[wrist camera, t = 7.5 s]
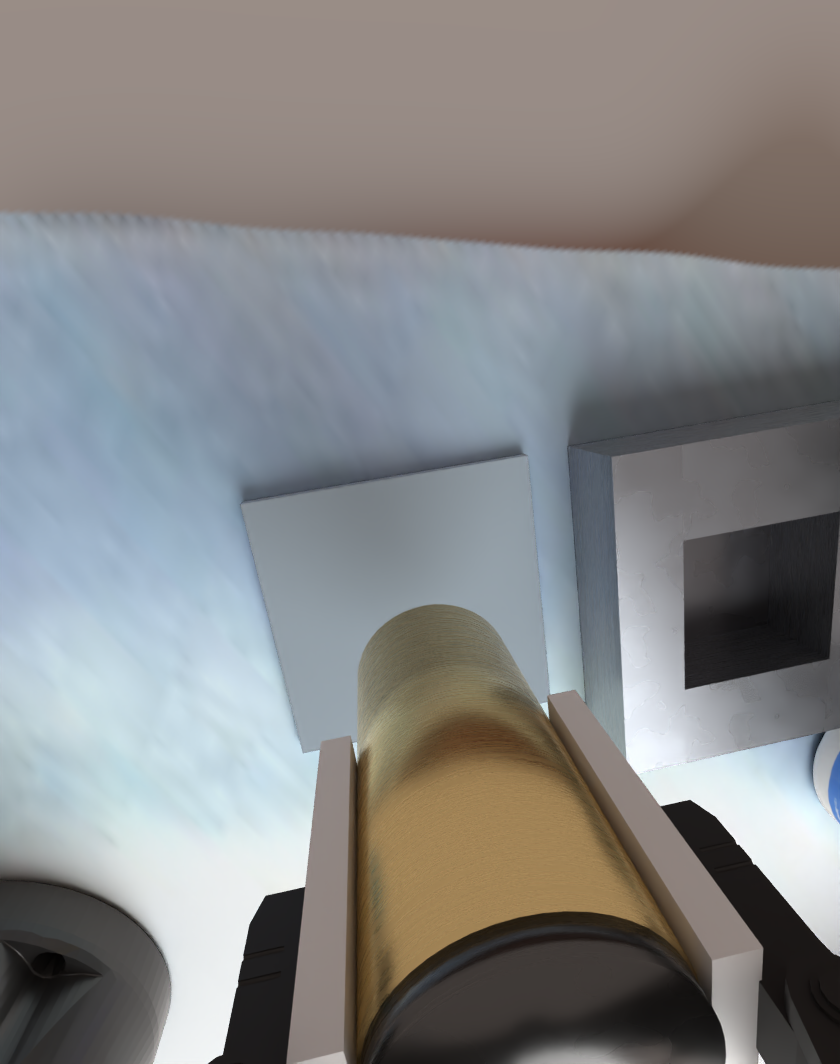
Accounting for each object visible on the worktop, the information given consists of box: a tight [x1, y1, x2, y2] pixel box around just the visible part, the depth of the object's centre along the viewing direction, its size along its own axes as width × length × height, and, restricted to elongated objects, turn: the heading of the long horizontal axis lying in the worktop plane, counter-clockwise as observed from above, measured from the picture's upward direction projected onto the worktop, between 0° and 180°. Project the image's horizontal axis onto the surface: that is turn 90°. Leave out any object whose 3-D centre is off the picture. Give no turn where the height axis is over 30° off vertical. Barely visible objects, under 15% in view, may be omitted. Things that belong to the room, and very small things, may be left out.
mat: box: [240, 454, 550, 753], centre depth 23 cm, size 12×12×1 cm
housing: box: [568, 400, 840, 774], centre depth 23 cm, size 20×14×4 cm
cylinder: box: [356, 604, 726, 1064], centre depth 12 cm, size 5×5×11 cm
